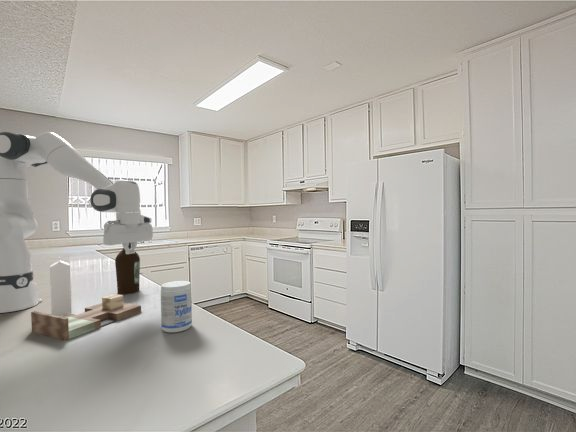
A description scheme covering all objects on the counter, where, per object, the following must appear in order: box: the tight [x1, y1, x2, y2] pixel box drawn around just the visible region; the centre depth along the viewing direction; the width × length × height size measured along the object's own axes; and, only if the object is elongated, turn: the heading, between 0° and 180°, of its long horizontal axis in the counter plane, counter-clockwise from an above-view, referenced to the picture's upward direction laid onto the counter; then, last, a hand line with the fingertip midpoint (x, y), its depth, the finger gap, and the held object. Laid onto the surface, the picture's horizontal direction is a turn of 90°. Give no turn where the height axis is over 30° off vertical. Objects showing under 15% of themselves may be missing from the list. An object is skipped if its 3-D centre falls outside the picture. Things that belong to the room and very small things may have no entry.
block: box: [101, 293, 124, 310], centre depth 114 cm, size 5×5×4 cm
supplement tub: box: [160, 280, 193, 334], centre depth 99 cm, size 10×10×15 cm
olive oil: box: [114, 243, 141, 295], centre depth 145 cm, size 11×11×25 cm
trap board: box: [30, 302, 142, 341], centre depth 107 cm, size 18×27×6 cm, turn 156°
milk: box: [49, 257, 73, 316], centre depth 114 cm, size 6×6×22 cm
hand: (130, 253), depth 121 cm, fingers closed
